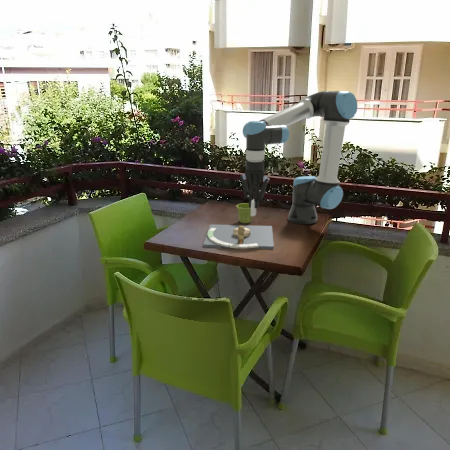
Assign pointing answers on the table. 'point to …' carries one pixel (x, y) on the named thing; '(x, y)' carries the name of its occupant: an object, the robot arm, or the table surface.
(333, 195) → the robot arm
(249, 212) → the plant pot
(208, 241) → the scale board
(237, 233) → the dial
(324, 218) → the table surface
